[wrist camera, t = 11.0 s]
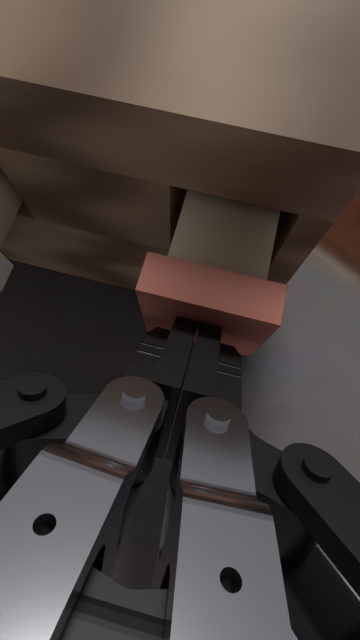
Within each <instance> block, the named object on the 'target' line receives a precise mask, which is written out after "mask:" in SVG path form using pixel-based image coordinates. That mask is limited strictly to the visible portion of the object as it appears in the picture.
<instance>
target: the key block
mask: <svg viewBox="0 0 360 640" xmlns="http://www.w3.org/2000/svg"><path fill="white" fill-rule="evenodd" d="M0 167H1V169H2V170H3V172H4V173H5V175H6V176H7V178H8V179H9V181H10V182H11V184H12V185H13V187H14V188H15V190H16V191H17V193H18V194H19V196H20V197H21V199H22V200H23V202H22V204H21V206H20V208H19V210H18V212H17V214H16V217H15V219H14V221H13V223H12V225H11V227H10V229H9V231H8V233H7V235H6V237H5V239H4V241H3V244H2V246H1V248H0V252H1V253H2V254H3V255H4V256H5V257H6V258H7V259H10V260H14V261H18V262H22V263H26V264H30V265H34V266H38V267H42V268H46V269H50V270H54V271H58V272H62V273H66V274H70V275H74V276H78V277H82V278H86V279H90V280H94V281H99V282H103V283H107V284H111V285H115V286H119V287H123V288H127V289H131V290H135V289H136V286H137V283H138V280H139V276H140V273H141V270H142V267H143V264H144V261H145V258H146V255H147V252H152V253H156V254H160V255H164V256H168V253H169V250H170V247H171V243H172V240H173V237H174V233H175V230H176V227H177V224H178V220H179V217H180V214H181V210H182V207H183V204H184V200H185V197H186V194H187V191H188V190H192V191H196V192H200V193H205V194H209V195H214V196H218V197H223V198H227V199H231V200H236V201H240V202H245V203H249V204H254V205H258V206H262V207H267V208H271V209H276V210H280V215H279V220H278V225H277V230H276V236H275V241H274V246H273V251H272V256H271V261H270V266H269V271H268V276H267V280H268V281H273V282H277V283H281V284H285V285H286V284H287V282H288V281H289V280H290V279H291V277H292V276H293V275H294V273H295V272H296V271H297V270H298V268H299V267H300V266H301V264H302V263H303V262H304V260H305V259H306V258H307V257H308V255H309V254H310V253H311V251H312V250H313V249H314V248H315V246H316V245H317V244H318V242H319V241H320V240H321V238H322V237H323V236H324V235H325V233H326V232H327V231H328V229H329V228H330V227H331V226H332V224H333V223H334V222H335V220H336V219H337V218H338V216H339V215H340V214H341V213H342V211H343V210H344V209H345V207H346V206H347V205H348V204H349V202H350V201H351V200H352V198H353V197H354V196H355V194H356V193H357V192H358V191H359V189H360V0H0ZM135 291H136V290H135Z"/></svg>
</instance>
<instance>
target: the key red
mask: <svg viewBox="0 0 360 640" xmlns="http://www.w3.org/2000/svg"><path fill="white" fill-rule="evenodd" d="M279 215H280V210H276V209H271V208H267V207H262V206H258V205H254V204H249V203H245V202H240V201H236V200H231V199H227V198H223V197H218V196H214V195H209V194H205V193H200V192H196V191H192V190H188V191H187V194H186V197H185V200H184V204H183V207H182V210H181V214H180V217H179V220H178V224H177V227H176V230H175V233H174V237H173V240H172V243H171V247H170V250H169V253H168V256H164V255H160V254H156V253H152V252H147V255H146V258H145V261H144V264H143V267H142V270H141V273H140V276H139V280H138V283H137V286H136V289H135V290H136V294H137V297H138V301H139V304H140V308H141V311H142V315H143V319H144V322H145V326H146V329H147V331H151V330H152V329H154V328H156V327H160V328H164V329H168V330H171V329H172V326H173V324H174V321H175V319H176V317H181V318H185V319H189V320H193V321H197V322H198V325H197V329H196V333H195V337H194V341H193V342H194V343H195V341H196V337H197V333H198V329H199V325H200V322H201V323H205V324H209V325H213V326H217V327H221V328H222V334H221V342H220V343H223V344H227V345H231V346H235V348H236V349H237V351H238V353H239V354H241V355H245V356H250V355H251V354H252V353H253V352H254V351H255V350H256V349H257V348H258V347H259V346H260V345H261V344H262V343H263V342H264V341H265V340H266V339H267V338H268V337H269V336H270V335H272V334H273V333H274V332H275V331H276V330H277V329H278V328H279V327H280V326H281V321H282V315H283V310H284V304H285V298H286V292H287V287H288V285H285V284H281V283H277V282H273V281H268V280H267V276H268V271H269V266H270V261H271V256H272V251H273V246H274V241H275V236H276V230H277V225H278V220H279Z"/></svg>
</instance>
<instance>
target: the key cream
mask: <svg viewBox="0 0 360 640" xmlns="http://www.w3.org/2000/svg"><path fill="white" fill-rule="evenodd" d="M22 202H23V200H22V199H21V197H20V196H19V194H18V193H17V191H16V190H15V188H14V187H13V185H12V184H11V182H10V181H9V179H8V178H7V176H6V175H5V173H4V172H3V170H2V169H1V167H0V248H1V246H2V244H3V241H4V239H5V237H6V235H7V233H8V231H9V229H10V227H11V225H12V223H13V221H14V219H15V217H16V214H17V212H18V210H19V208H20V206H21V204H22ZM13 266H14V265H13V264H12V263H11V262H10V261H9V260H8V259H7V258H6V257H5V256H4V255H3V254H2V253H1V252H0V292H2V290H3V288H4V286H5V284H6V282H7V279H8V277H9V275H10V273H11V271H12V268H13Z"/></svg>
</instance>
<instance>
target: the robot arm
mask: <svg viewBox="0 0 360 640" xmlns="http://www.w3.org/2000/svg"><path fill="white" fill-rule="evenodd" d="M197 325H198V322H197V321H193V320H189V319H185V318H181V317H176V319H175V321H174V324H173V326H172V329H171V330H168V329H164V328H160V327H156V328H154V329H152V330H151V331H149V332H147V333H146V335H145V337H144V338H143V340H142V343H141V344H140V346H139V348H138V350H137V351H136V353H135V355H134V357H133V359H132V360H131V362H130V364H129V366H128V368H127V370H126V371H125V373H124V375H123V377H120V378H117V379H115V380H113V381H111V382H110V383H109V384H108V385H107V386H106V387H105V389H104V390H103V391H102V392H100V393H94V394H73V393H67V388H66V385H65V383H64V382H63V381H62V380H61V379H60V378H58V377H57V376H55V375H53V374H49V373H45V372H27V373H22V374H18V375H14V376H11V377H7V378H4V379H0V640H293V637H292V632H291V629H292V630H293V632H294V634H295V635H296V637H297V638H298V640H360V601H359V600H358V599H357V597H356V596H355V595H354V593H353V592H352V591H351V590H350V588H349V587H348V586H347V585H346V583H345V582H344V581H343V579H342V578H341V577H340V575H339V574H338V573H337V572H336V570H335V569H334V568H333V566H332V565H331V564H330V563H329V561H328V560H327V559H326V557H325V556H324V555H323V554H322V552H321V551H320V550H319V548H318V547H317V546H316V545H317V544H319V546H320V547H321V548H322V550H323V551H324V552H325V553H326V555H327V556H328V557H329V558H330V560H331V561H332V562H333V564H334V565H335V566H336V567H337V569H338V570H339V571H340V572H341V574H342V575H343V576H344V578H345V579H346V580H347V581H348V583H349V584H350V585H351V586H352V588H353V589H354V590H355V592H356V593H357V594H358V595H359V597H360V483H359V482H358V481H357V480H356V479H355V478H354V477H353V476H352V475H351V474H350V473H349V472H348V471H347V470H346V469H345V468H344V467H343V466H342V465H341V464H340V463H339V462H338V461H337V460H336V459H335V458H333V457H332V456H331V455H330V454H328V453H327V452H325V451H324V450H322V449H320V448H318V447H316V446H313V445H310V444H305V443H294V444H291V445H289V446H287V447H286V448H285V449H284V450H283V451H281V450H279V449H277V448H275V447H273V446H272V445H270V444H268V443H266V442H264V441H263V440H261V439H260V438H258V437H257V436H255V435H254V434H253V433H252V432H251V431H250V430H249V429H248V423H247V420H246V418H245V416H244V414H243V413H242V412H241V356H240V354H239V353H238V351H237V349H236V348H235V346H231V345H227V344H223V343H220V342H221V334H222V328H221V327H217V326H213V325H209V324H205V323H201V322H200V325H199V329H198V333H197V337H196V341H195V345H194V349H193V353H192V357H191V361H190V365H189V369H188V373H187V376H186V380H185V384H184V388H183V392H182V396H181V400H180V404H179V408H178V412H177V416H176V420H175V424H174V428H173V432H172V436H171V440H170V444H169V448H168V452H167V456H166V459H168V460H172V461H173V464H172V469H171V473H170V477H169V481H168V484H167V488H166V494H165V501H164V508H163V515H162V522H161V529H160V536H159V543H158V550H157V557H156V564H155V570H154V576H153V581H152V586H151V590H132V589H127V588H124V587H122V586H121V585H119V584H118V583H116V582H115V581H113V580H112V579H111V575H112V572H113V568H114V565H115V562H116V559H117V556H118V554H119V551H120V548H121V546H122V543H123V541H124V538H125V536H126V533H127V530H128V528H129V525H130V523H131V520H132V518H133V515H134V512H135V510H136V507H137V505H138V502H139V500H140V497H141V494H142V492H143V489H144V487H145V484H146V481H147V477H148V475H149V474H150V472H151V470H152V467H153V463H154V460H155V456H157V457H160V458H163V457H164V453H165V450H166V446H167V442H168V438H169V434H170V431H171V427H172V423H173V419H174V415H175V412H176V408H177V404H178V400H179V396H180V393H181V389H182V385H183V381H184V377H185V373H186V369H187V365H188V361H189V357H190V353H191V349H192V345H193V341H194V337H195V333H196V329H197Z"/></svg>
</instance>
